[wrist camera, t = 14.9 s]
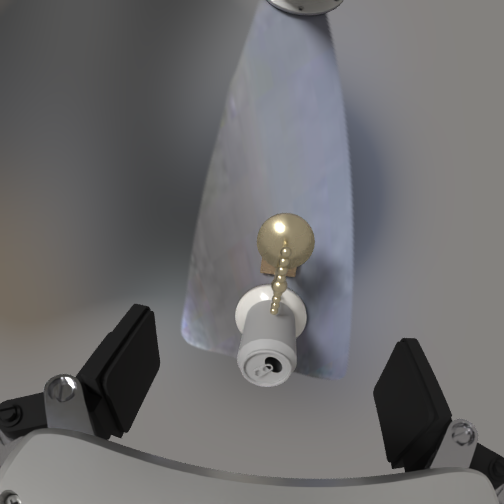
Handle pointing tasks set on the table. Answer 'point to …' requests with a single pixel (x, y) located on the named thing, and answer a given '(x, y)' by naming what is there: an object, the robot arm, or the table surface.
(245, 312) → the white rounded disc
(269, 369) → the can
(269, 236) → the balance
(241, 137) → the table surface
